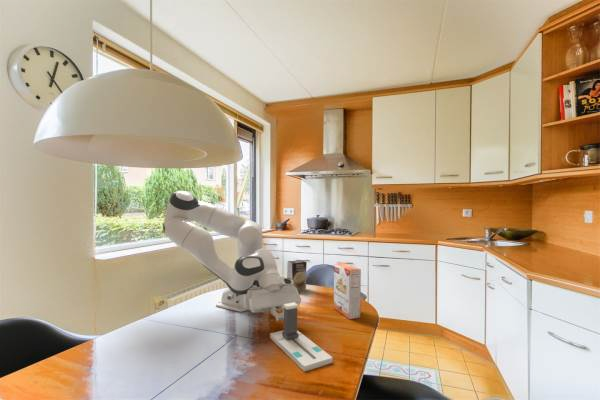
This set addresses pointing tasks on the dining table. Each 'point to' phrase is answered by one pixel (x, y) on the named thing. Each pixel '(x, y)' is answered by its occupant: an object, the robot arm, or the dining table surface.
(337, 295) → the cracker box
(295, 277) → the coffee box
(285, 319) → the fader tab
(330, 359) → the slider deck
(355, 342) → the dining table surface
